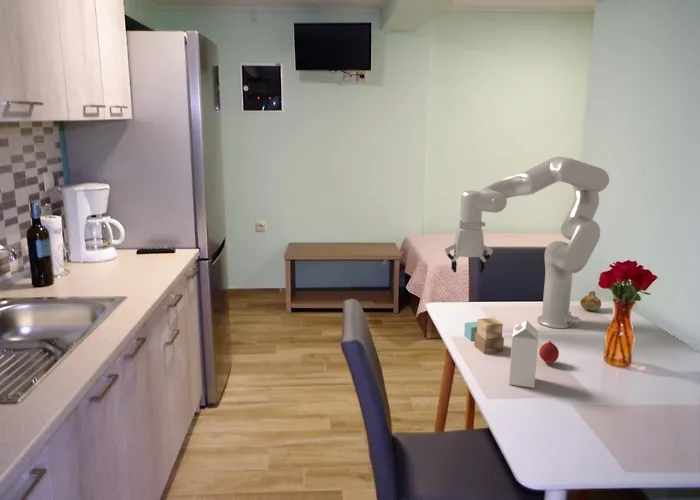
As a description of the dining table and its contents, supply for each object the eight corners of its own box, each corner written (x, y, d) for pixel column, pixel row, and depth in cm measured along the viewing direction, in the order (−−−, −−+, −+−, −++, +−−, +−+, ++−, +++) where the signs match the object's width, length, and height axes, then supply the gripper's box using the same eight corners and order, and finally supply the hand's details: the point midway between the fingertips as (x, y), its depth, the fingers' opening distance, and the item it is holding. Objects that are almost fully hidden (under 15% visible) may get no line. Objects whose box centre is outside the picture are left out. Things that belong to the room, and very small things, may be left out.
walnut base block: (492, 344, 194) (493, 330, 193) (503, 352, 188) (504, 338, 186) (474, 346, 192) (474, 332, 191) (484, 354, 186) (484, 340, 185)
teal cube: (477, 334, 203) (477, 321, 202) (483, 339, 198) (484, 326, 197) (464, 335, 202) (464, 322, 201) (470, 341, 197) (471, 327, 196)
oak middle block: (492, 331, 193) (493, 317, 191) (501, 337, 187) (502, 323, 186) (477, 333, 191) (477, 319, 190) (485, 339, 185) (486, 325, 184)
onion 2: (575, 307, 232) (577, 289, 230) (594, 307, 232) (595, 288, 231) (585, 313, 224) (587, 294, 222) (604, 313, 225) (606, 294, 223)
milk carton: (534, 378, 168) (539, 318, 164) (534, 388, 162) (539, 326, 157) (510, 374, 171) (514, 315, 166) (508, 385, 164) (512, 323, 160)
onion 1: (558, 362, 180) (560, 338, 178) (556, 369, 175) (558, 345, 173) (539, 358, 182) (541, 335, 180) (537, 365, 177) (539, 342, 175)
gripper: (491, 223, 205) (488, 269, 208) (444, 223, 205) (442, 268, 208) (497, 227, 197) (493, 274, 201) (447, 227, 197) (445, 274, 201)
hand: (467, 271), depth 205 cm, fingers open, 9 cm apart
